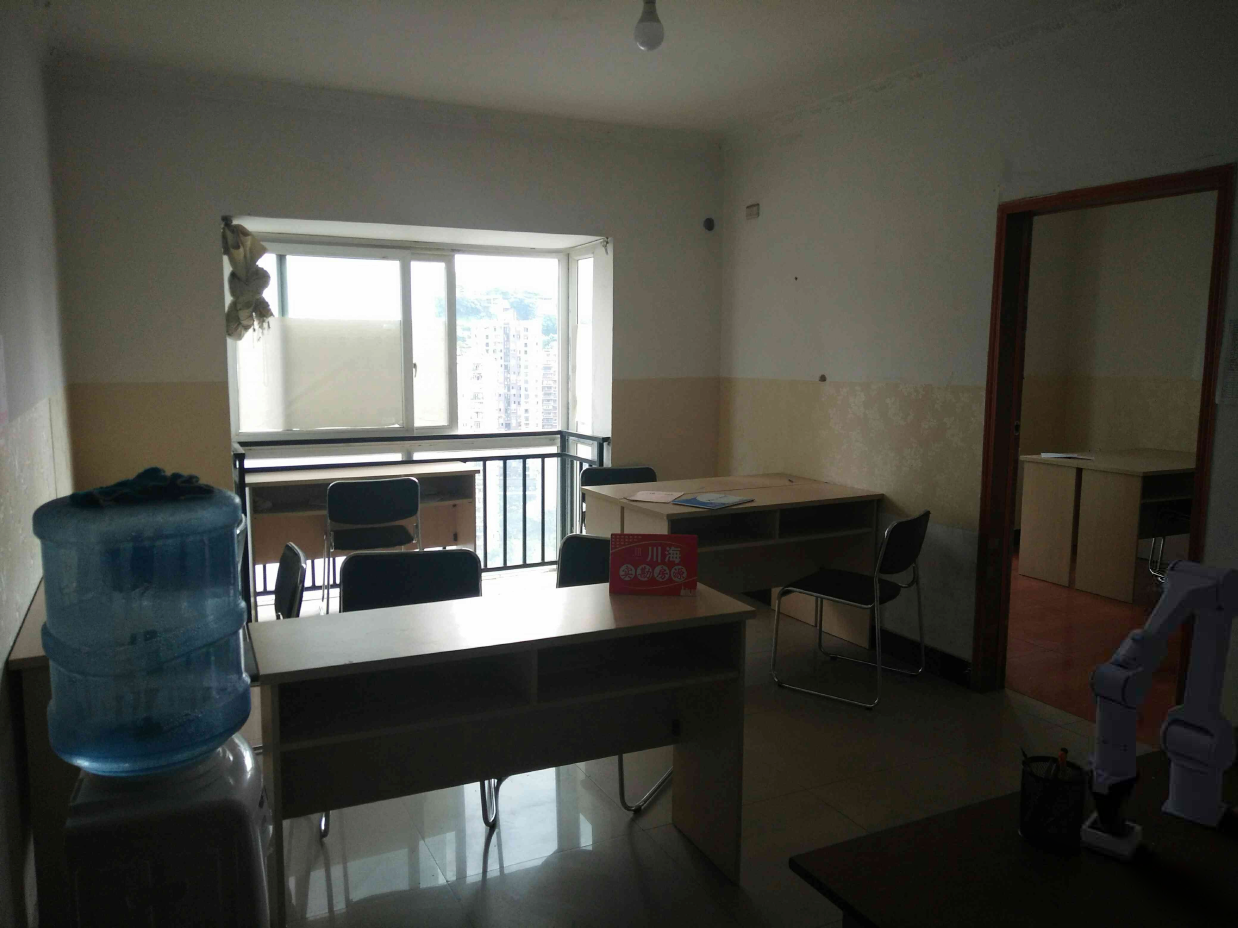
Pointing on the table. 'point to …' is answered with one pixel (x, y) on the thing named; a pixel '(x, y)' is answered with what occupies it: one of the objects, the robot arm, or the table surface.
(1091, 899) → the table surface
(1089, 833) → the socket block
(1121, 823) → the walnut peg
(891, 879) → the table surface
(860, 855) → the table surface
